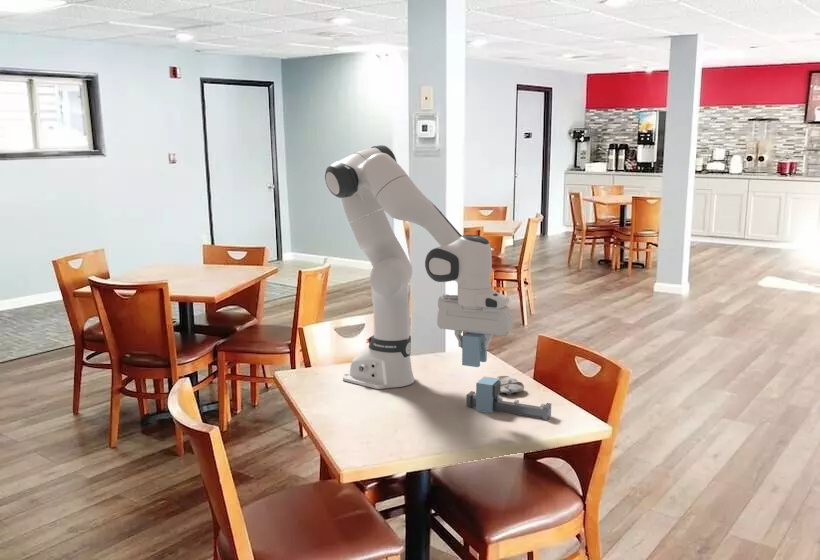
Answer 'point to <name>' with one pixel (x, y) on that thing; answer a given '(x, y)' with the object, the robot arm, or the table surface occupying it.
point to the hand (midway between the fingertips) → (473, 348)
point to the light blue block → (473, 349)
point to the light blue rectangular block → (487, 393)
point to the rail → (514, 407)
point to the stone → (509, 385)
